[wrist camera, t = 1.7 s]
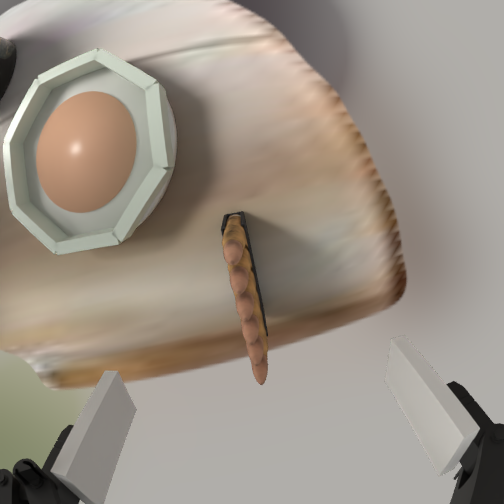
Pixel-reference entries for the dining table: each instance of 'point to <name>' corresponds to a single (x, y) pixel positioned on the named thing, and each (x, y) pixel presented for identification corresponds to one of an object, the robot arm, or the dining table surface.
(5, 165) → the octagonal tray
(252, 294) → the ammunition clip
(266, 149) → the dining table surface
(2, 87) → the jar
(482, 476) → the robot arm
